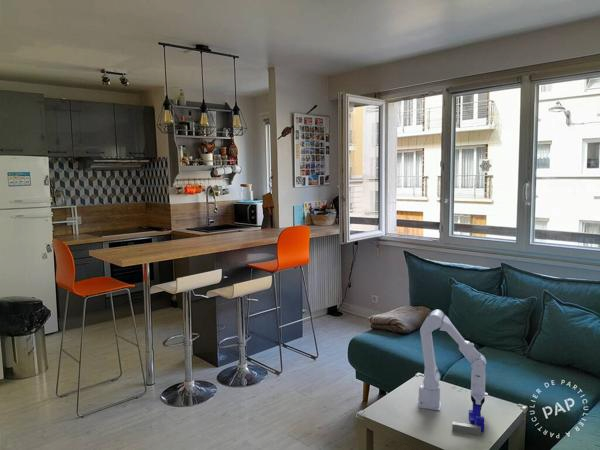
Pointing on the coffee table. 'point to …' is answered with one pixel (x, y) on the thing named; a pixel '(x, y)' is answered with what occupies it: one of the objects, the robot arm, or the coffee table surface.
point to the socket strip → (466, 428)
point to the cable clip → (476, 416)
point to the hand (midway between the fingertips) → (477, 412)
